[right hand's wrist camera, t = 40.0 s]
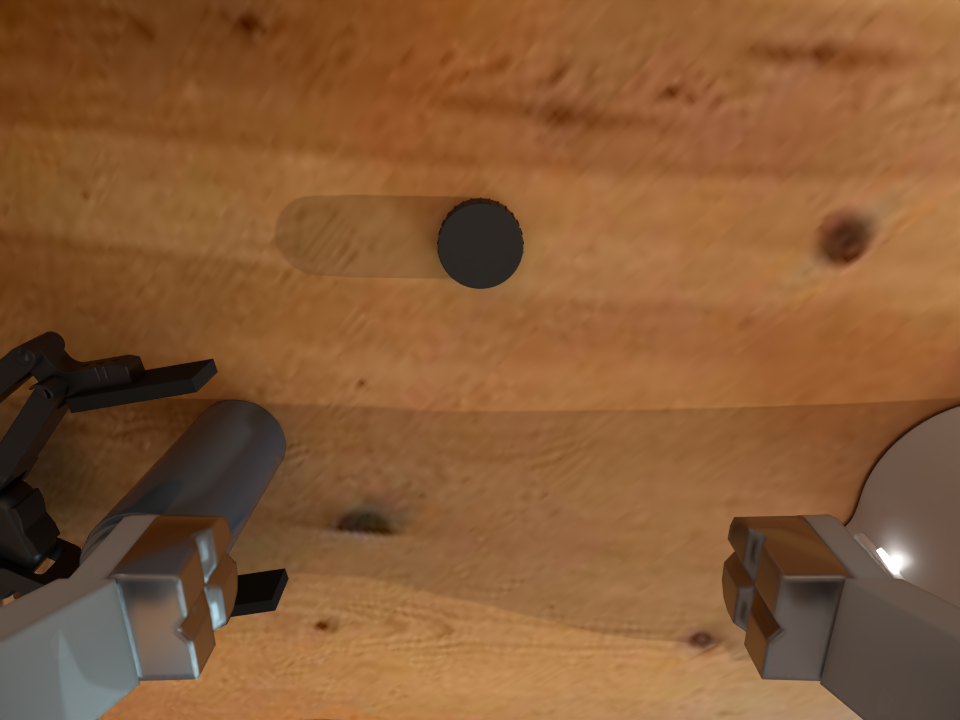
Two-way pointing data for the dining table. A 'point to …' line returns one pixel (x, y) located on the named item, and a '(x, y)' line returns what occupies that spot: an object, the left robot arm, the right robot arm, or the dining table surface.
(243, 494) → the bottle
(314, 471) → the dining table surface
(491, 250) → the cap
